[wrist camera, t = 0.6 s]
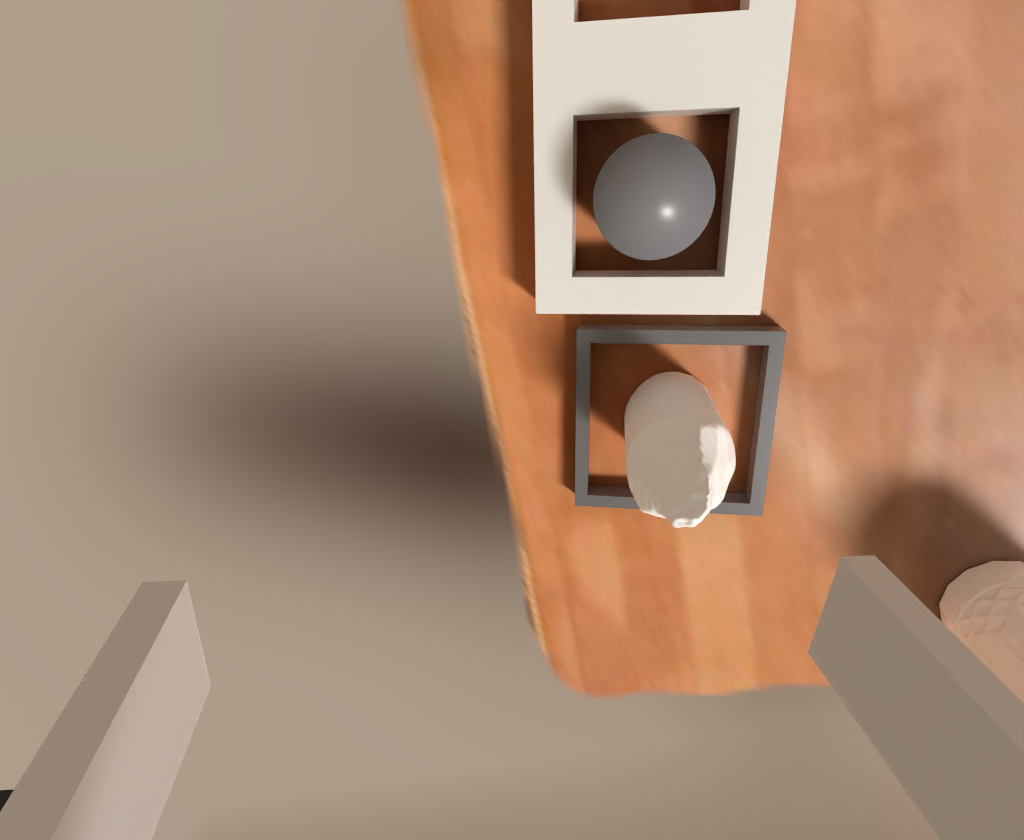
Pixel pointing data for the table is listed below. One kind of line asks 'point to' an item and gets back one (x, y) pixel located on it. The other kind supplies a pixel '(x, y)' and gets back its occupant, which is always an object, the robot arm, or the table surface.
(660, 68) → the block
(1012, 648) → the white cup
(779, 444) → the table surface
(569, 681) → the table surface
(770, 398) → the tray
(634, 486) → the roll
